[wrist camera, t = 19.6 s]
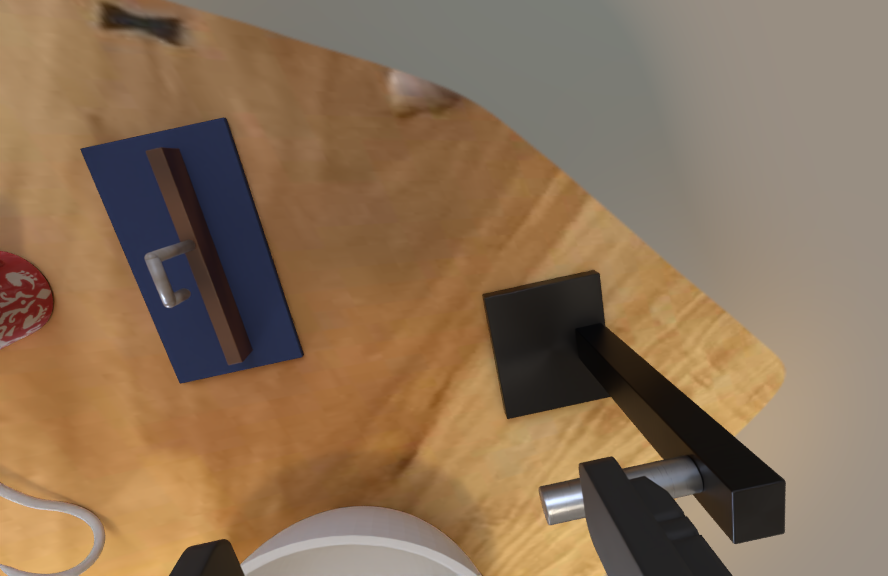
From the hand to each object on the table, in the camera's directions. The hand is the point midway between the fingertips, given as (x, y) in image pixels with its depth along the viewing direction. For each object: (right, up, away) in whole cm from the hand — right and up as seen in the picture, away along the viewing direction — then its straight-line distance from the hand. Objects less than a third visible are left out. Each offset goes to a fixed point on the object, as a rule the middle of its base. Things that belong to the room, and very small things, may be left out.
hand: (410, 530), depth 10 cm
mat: (-19, +8, +26) cm, 33 cm away
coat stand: (+10, 0, +30) cm, 31 cm away
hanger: (-18, +8, +25) cm, 32 cm away
